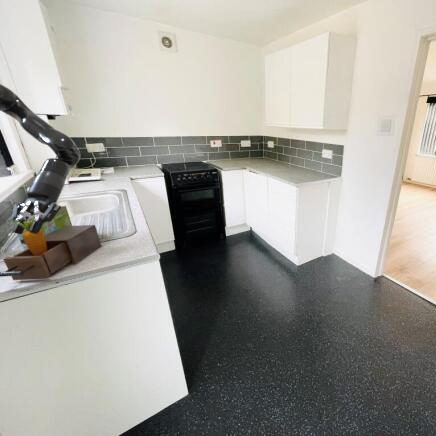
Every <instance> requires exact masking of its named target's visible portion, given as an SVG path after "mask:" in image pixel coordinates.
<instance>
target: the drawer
mask: <svg viewBox="0 0 436 436" xmlns="http://www.w3.org/2000/svg"><path fill="white" fill-rule="evenodd" d="M46 246H47V251H46V252H44V253H43V254H41V256H34V255H33V254H32V253H31V251H30V250H29V249H26V250H24V249H23V250H22V251H20V252H18V253H16V254H14V255H13V256H6V257H4V258H2V260H3V262H4V264H5V266H6V268H7V269H6V270H4V271H0V278H1V277H11V279H12V281H25V280H26V281H27V280H46V279H49V278H51V277H52V276H51V274H53V273H55V272H57V271H58V270H59V269H61V268H62V267H64V266H65V265H68V264H67V263H69V262H70V261H72V260H71V257H70V254H69V251H68V249H67V246H66V243H65V242H59V243H46Z"/></svg>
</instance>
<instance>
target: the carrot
mask: <svg viewBox="0 0 436 436" xmlns="http://www.w3.org/2000/svg"><path fill="white" fill-rule="evenodd" d="M34 221H35V219H34V218H31V222H30V221H28V223H26V221H24V222H23V223H24V224H25V225H26V226H25V225H24V224H22V223H20V222H18V223H17V224H18V225H20V226H21V227H23V228H24V229H26V231H24V232H23V233H22V237H23V239H24V241H25V243H26V245H27V247H28V249H29V250H30V251H31V253H32V254H33V255H34V256H41V254H43V253H44V252H46V251H47V246H46V241H45V238H44V235H43V232H42V230H41V229H40V231H39V232H38V234H33V233H30V232H29V230H30V228H31V226H32V224H33V222H34Z"/></svg>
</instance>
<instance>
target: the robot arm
mask: <svg viewBox="0 0 436 436" xmlns="http://www.w3.org/2000/svg"><path fill="white" fill-rule="evenodd" d="M0 112H2V113H4V114H6V115H8V116H9V117H11V118H13V119H14V120H16V121H17V122H18V123H19V125H20V127H21V128H22V129H23V130H24V131H25V132H26V133H27V134H28V135H29V136H31V137H32V138H34V139H35V140H36V141H37V142H39V143H41V144H43V145H44V146H45V145H46V146H48V147H49V148H50V149H51V151H52V152H53V153H54V154H55V157H50V158H47V159H45V161H44V162H43V164H42V166H41V167H40V169H39V171H38V173H37V174H36V175H35V177H34V179H33V181H32V182H31V184H30V186H29V188H28V190H27V192H26V196H27V199H26V200H25V202H24V203H18V202H16V203H15V204H14V205H13V209H12V214H11V219H13V220H16V221H17V223H18V222H20V223H22V224H24V223H23V222H24V221H26V223H27V222H28V221H29V220H30V219H31V218H33V217H34V216H35V221H34V222H33V224H32V226H31V228H30V230H29V232H30V233H33V234H38V232H39V231H40V229H41V227H42V225H43V224H44V223H45V222H47V221H48V222H50V221H52V219H53V218H54V217H55V215H56V214H57V213H58V211H59V210H60V209H61V206H62V205H59V204H57V202H58V200H59V198H60V196H61V194H62V192H63V189H64V187H65V183H66V181H67V178H68V176H69V174H70V171H72V170H73V169H74V168H75V166H76V165H77V164H78V163H79V161H80V160H81V151H80V149H79V148H78V146H77V144H76V143H75V141H74V140H73V139H72V138H71V137H70V136H68V135H67V134H65V133H64V132H62V131H60V130H57V129H56V128H55V127H54V126H52V125H51V124H50V123H48V122H47V121H46V120H45V119H43V118H42V117H40V116H39V115H38V114H37V113H35V112H34V111H33V110H32V109H31V108H30V107H28V106H27V105H26V104H25V102H24V101H23V100H22V99H21V97H19V96H18V95H17V94H16V92H14V91H13V90H12V89H10V88H9V87H7V86H4V85H3V84H1V83H0ZM26 212H28V213H30V214H27V213H26ZM49 214H51V215H50V216H49V217H48V215H49ZM17 215H19V216H18V217H17ZM24 216H26V218H25V219H23V218H24ZM13 220H12V221H13ZM17 223H16V225H15V226H14V227H13V229H12V233H14V234H17V235H18V234H22V233H23V231H24V228H23V227H21V226H20V225H18V224H17ZM24 225H25V224H24ZM25 226H26V225H25Z"/></svg>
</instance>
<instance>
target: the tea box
mask: <svg viewBox="0 0 436 436" xmlns="http://www.w3.org/2000/svg"><path fill="white" fill-rule="evenodd" d="M60 206H61V209H60V210H59V211H58V213H57V214H56V215H55V217H54V218H53V219H52V221H50V222H48V221H47V222H45V223H44V224H43V225H42V227H41V230H42V232H43V235H44V236H45V235H47V234H49V233H51V232H53V231H55V230H58V229H60V228H62V227H64V226H73V224H72V223H73V222H72V220H71V217H70V214H69V211H68V207H67V206H66V205H60ZM26 213H27V214H30V213H28V212H26ZM50 215H51V214H49V215H48V217H49V216H50ZM18 216H19V215H17V217H18ZM25 218H26V216H24V218H23V219H25ZM33 218H34V219H35V216H34V217H33ZM11 219H12V218H11ZM29 221H30V222H31V219H30V220H29ZM12 223H13V225H14V227H15V225H16V223H17V221H16V220H13V219H12ZM27 223H28V222H27ZM24 231H26V229H24ZM24 231H23V232H24ZM17 237H18V238H19V239H18V240H19V241H20V243H21V246H22V249H23V251H24V250H26V249H28V247H27V245H26V243H25V241H24V239H23V237H22V234H17Z"/></svg>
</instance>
